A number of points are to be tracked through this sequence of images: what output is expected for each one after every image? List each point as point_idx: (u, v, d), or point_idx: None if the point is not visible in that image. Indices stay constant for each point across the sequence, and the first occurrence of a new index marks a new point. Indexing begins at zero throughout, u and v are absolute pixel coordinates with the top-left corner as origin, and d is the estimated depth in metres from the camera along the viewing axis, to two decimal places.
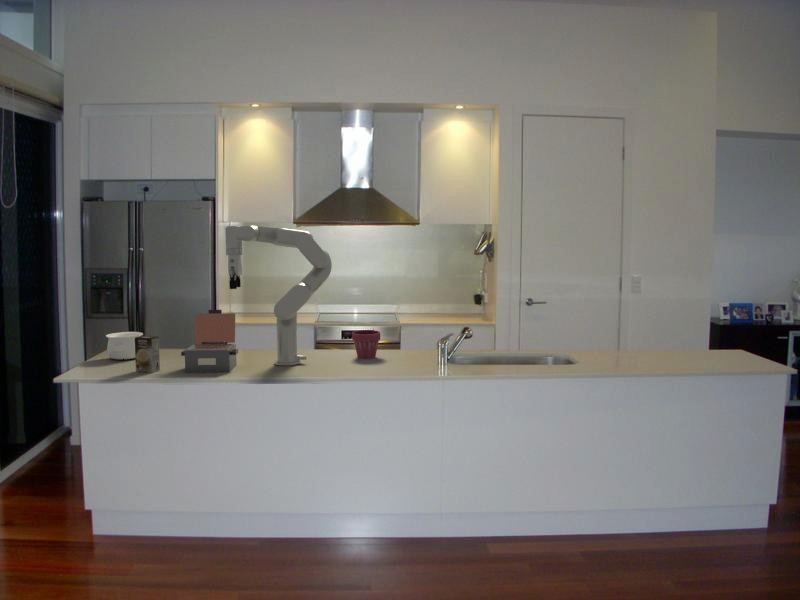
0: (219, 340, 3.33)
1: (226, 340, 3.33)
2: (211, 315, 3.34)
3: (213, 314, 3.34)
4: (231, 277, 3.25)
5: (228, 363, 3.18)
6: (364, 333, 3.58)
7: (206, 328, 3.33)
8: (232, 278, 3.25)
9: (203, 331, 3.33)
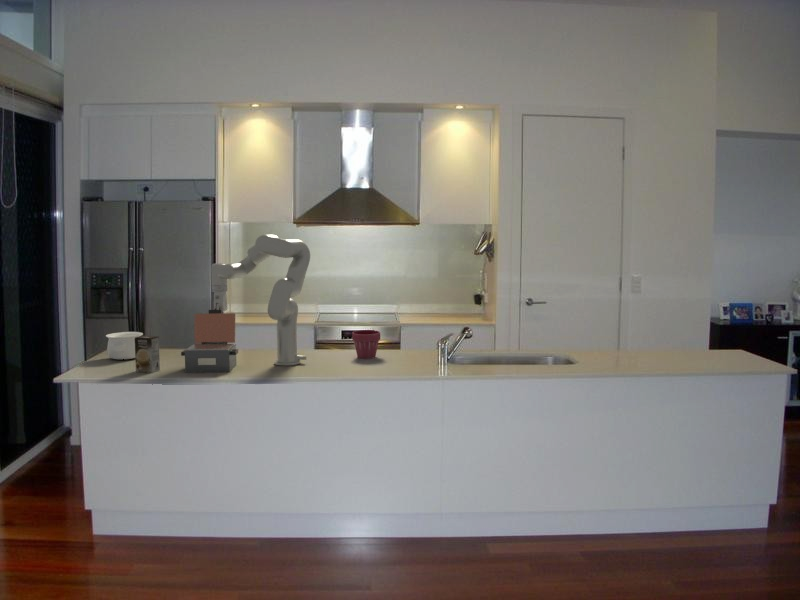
0: (219, 340, 3.33)
1: (226, 340, 3.33)
2: (211, 315, 3.34)
3: (213, 314, 3.34)
4: None
5: (228, 363, 3.18)
6: (364, 333, 3.58)
7: (206, 328, 3.33)
8: None
9: (203, 331, 3.33)
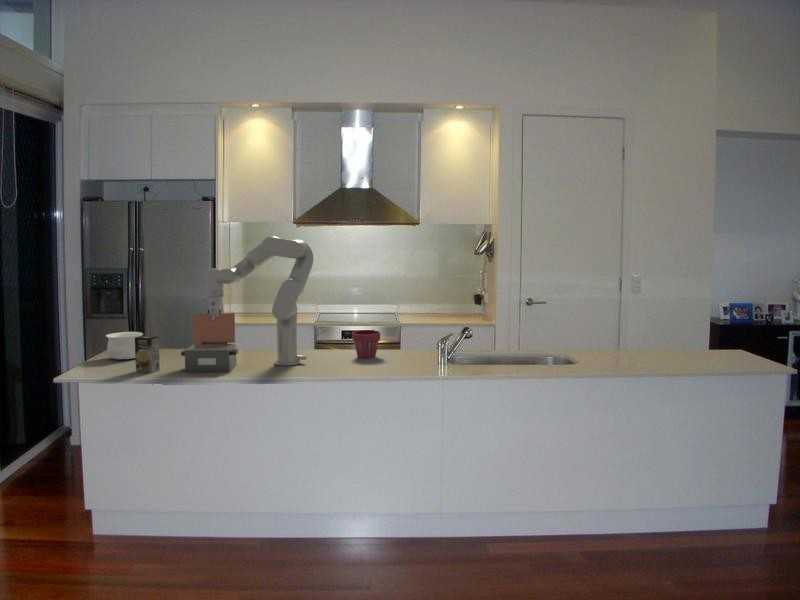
0: (219, 340, 3.33)
1: (226, 340, 3.33)
2: None
3: (212, 314, 3.32)
4: None
5: (228, 363, 3.18)
6: (364, 333, 3.58)
7: (206, 328, 3.32)
8: None
9: (203, 331, 3.32)
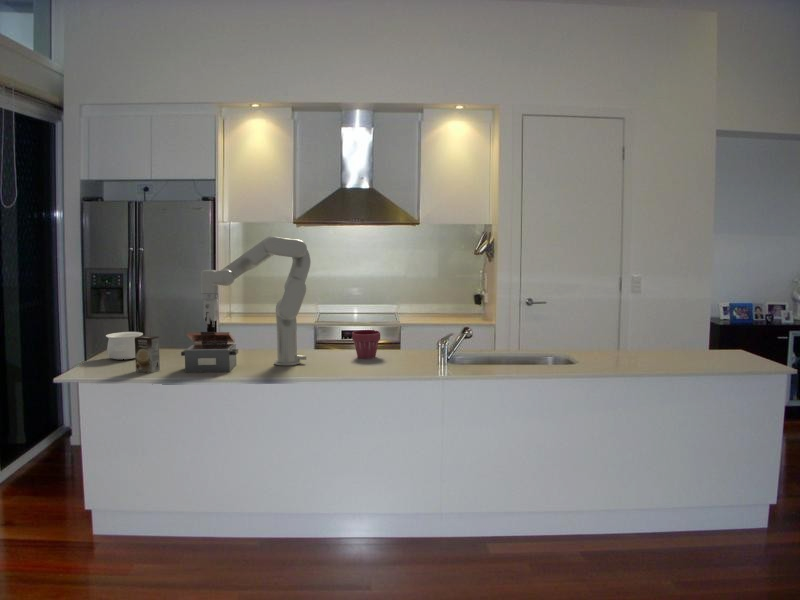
0: (218, 342, 3.32)
1: (226, 342, 3.32)
2: (205, 335, 3.20)
3: (206, 335, 3.20)
4: None
5: (228, 363, 3.18)
6: (364, 333, 3.58)
7: (203, 339, 3.26)
8: (209, 325, 3.23)
9: (200, 340, 3.27)
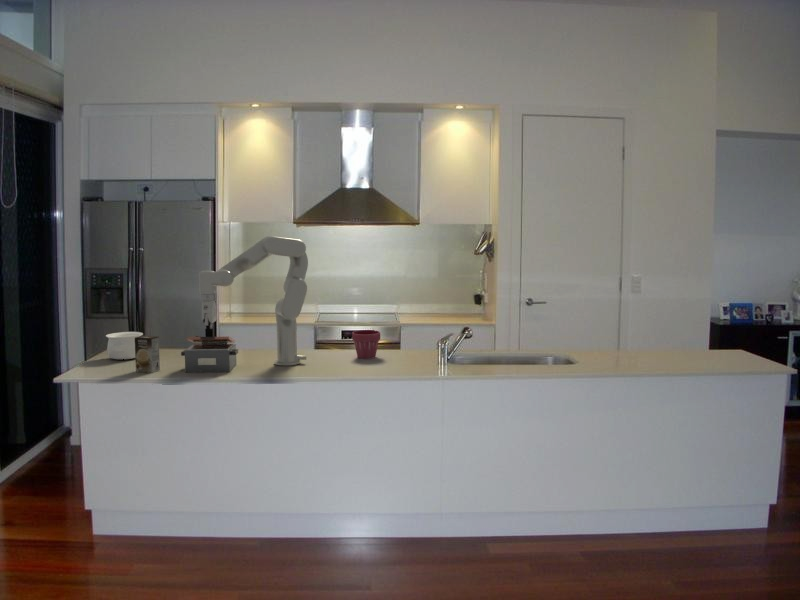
0: (218, 342, 3.32)
1: (226, 342, 3.32)
2: (204, 339, 3.20)
3: (206, 339, 3.19)
4: (207, 326, 3.19)
5: (228, 363, 3.18)
6: (364, 333, 3.58)
7: (202, 341, 3.26)
8: (208, 327, 3.19)
9: (200, 341, 3.27)
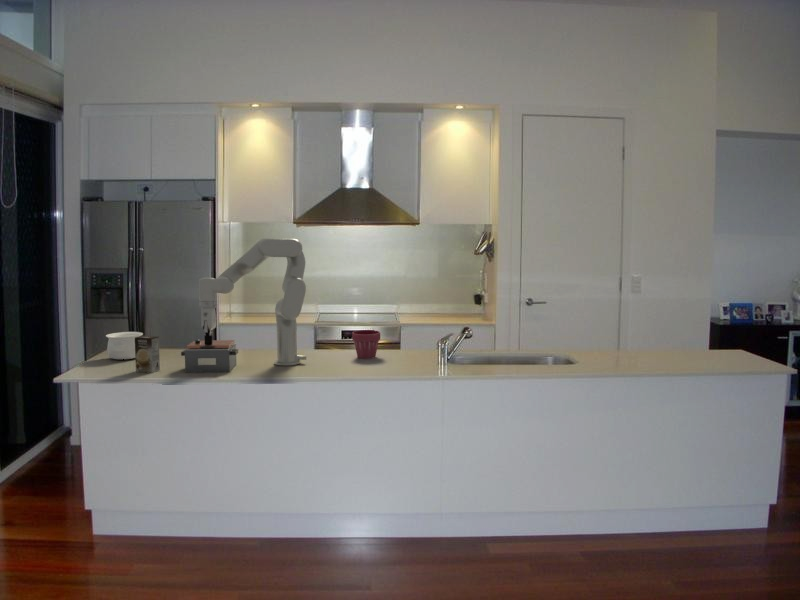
0: None
1: None
2: None
3: None
4: (206, 332, 3.19)
5: (228, 363, 3.18)
6: (364, 333, 3.58)
7: None
8: (207, 334, 3.19)
9: None
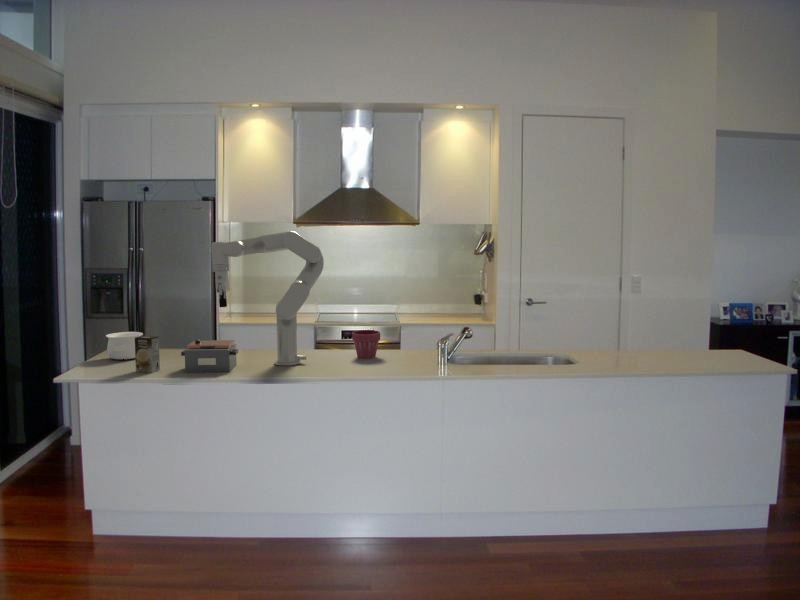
0: None
1: None
2: None
3: None
4: (221, 295, 3.27)
5: (228, 363, 3.18)
6: (364, 333, 3.58)
7: None
8: (222, 296, 3.27)
9: None
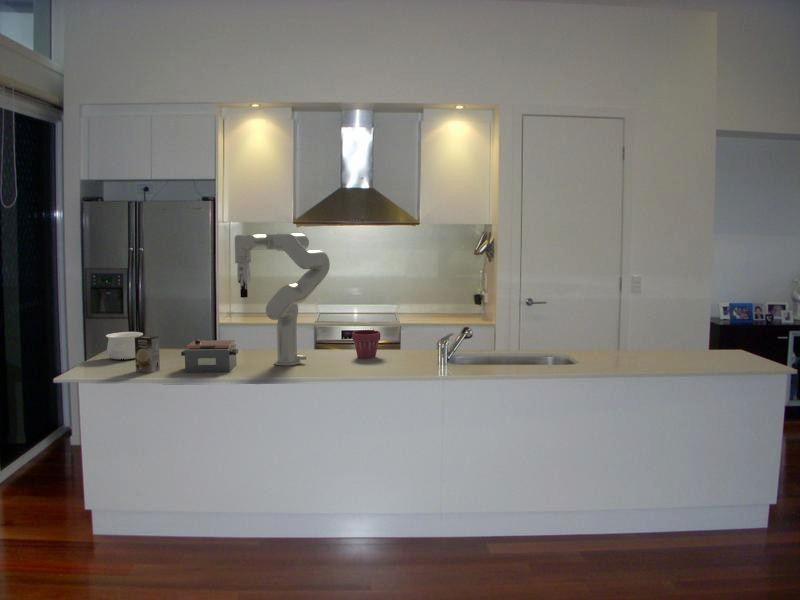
0: None
1: None
2: None
3: None
4: None
5: (228, 363, 3.18)
6: (364, 333, 3.58)
7: None
8: (243, 287, 3.42)
9: None
